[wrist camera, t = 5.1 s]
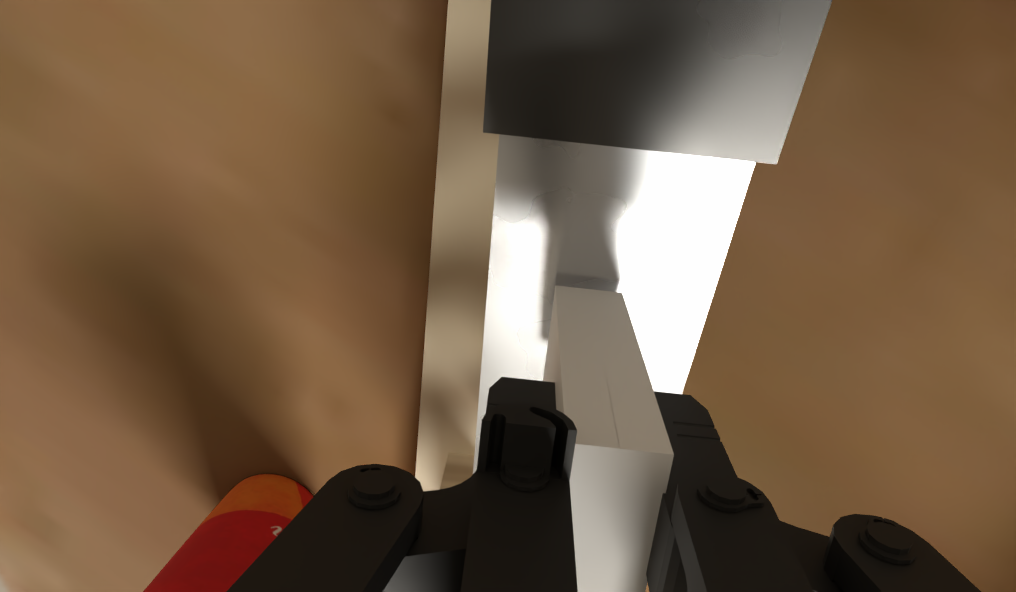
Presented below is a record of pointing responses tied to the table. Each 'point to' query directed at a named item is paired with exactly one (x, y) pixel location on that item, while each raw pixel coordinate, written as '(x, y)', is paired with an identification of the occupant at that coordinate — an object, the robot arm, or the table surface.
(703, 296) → the lever
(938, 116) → the table surface
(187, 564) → the paper cup
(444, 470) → the press base
